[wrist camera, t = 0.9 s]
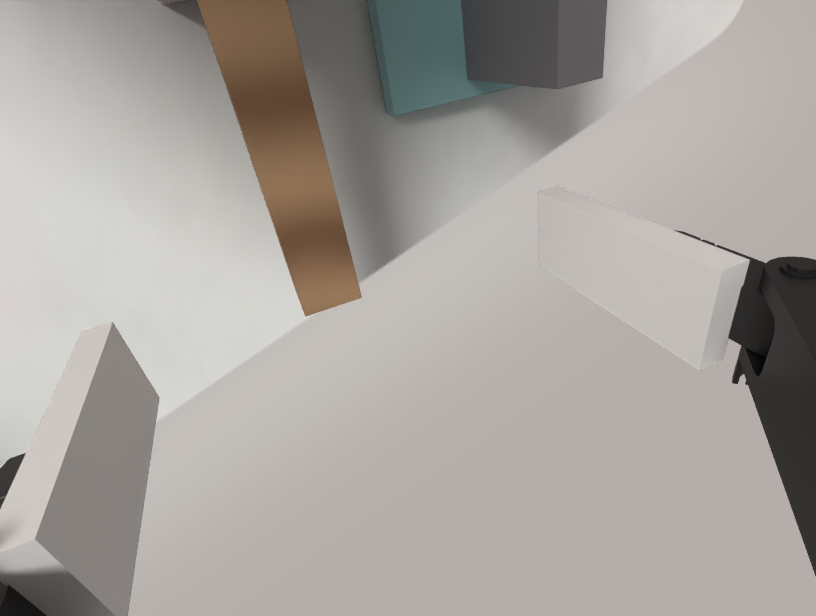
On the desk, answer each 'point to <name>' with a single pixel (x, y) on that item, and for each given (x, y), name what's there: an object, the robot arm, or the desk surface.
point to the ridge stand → (483, 47)
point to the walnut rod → (284, 144)
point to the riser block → (171, 1)
